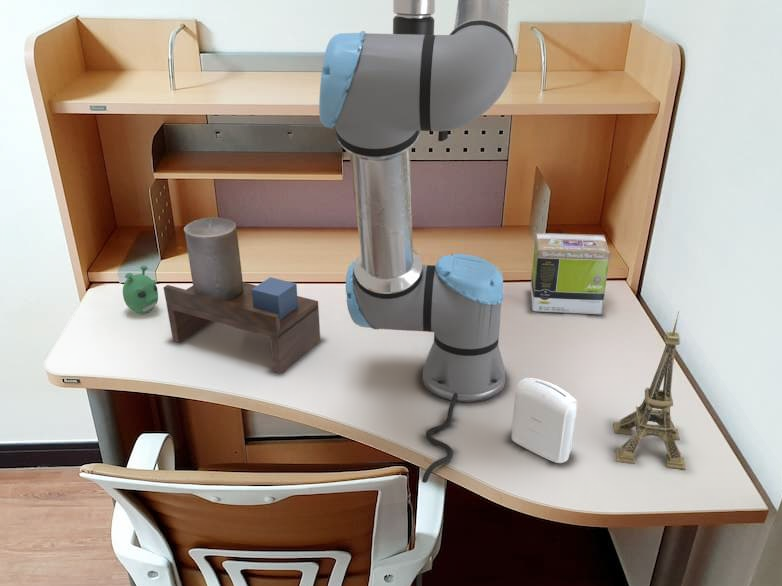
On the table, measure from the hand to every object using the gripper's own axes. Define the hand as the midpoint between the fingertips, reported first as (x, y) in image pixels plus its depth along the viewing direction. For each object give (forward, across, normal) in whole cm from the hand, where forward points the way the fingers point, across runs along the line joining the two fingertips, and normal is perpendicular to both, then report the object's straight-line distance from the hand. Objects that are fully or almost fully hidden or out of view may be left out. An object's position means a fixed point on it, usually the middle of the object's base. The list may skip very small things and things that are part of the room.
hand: (411, 135), depth 148 cm
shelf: (+37, +21, +30) cm, 52 cm away
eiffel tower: (+37, -58, +28) cm, 74 cm away
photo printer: (+37, -42, +36) cm, 67 cm away
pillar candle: (+28, +28, +29) cm, 49 cm away
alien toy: (+37, +48, +30) cm, 67 cm away
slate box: (+28, +13, +30) cm, 43 cm away
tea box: (+36, -31, -16) cm, 50 cm away
